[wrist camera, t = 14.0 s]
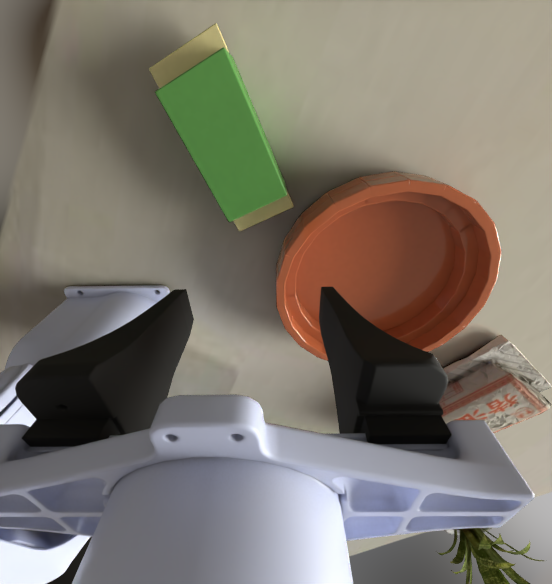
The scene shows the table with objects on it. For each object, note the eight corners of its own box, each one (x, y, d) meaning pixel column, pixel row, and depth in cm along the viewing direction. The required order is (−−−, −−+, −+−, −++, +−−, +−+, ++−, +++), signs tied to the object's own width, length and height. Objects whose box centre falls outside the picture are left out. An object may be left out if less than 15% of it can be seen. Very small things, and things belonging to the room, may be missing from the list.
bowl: (278, 341, 28) (277, 368, 26) (274, 171, 19) (273, 182, 16) (435, 340, 28) (454, 367, 25) (507, 167, 19) (549, 177, 16)
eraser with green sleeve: (241, 224, 22) (237, 238, 19) (158, 72, 16) (138, 65, 14) (292, 201, 20) (294, 212, 18) (221, 30, 15) (211, 15, 13)
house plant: (519, 475, 44) (628, 636, 30) (449, 503, 51) (512, 648, 37) (463, 450, 40) (558, 624, 26) (394, 485, 47) (441, 639, 33)
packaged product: (421, 476, 34) (371, 449, 31) (406, 438, 38) (360, 410, 35) (581, 414, 27) (539, 368, 23) (541, 374, 31) (500, 330, 27)
